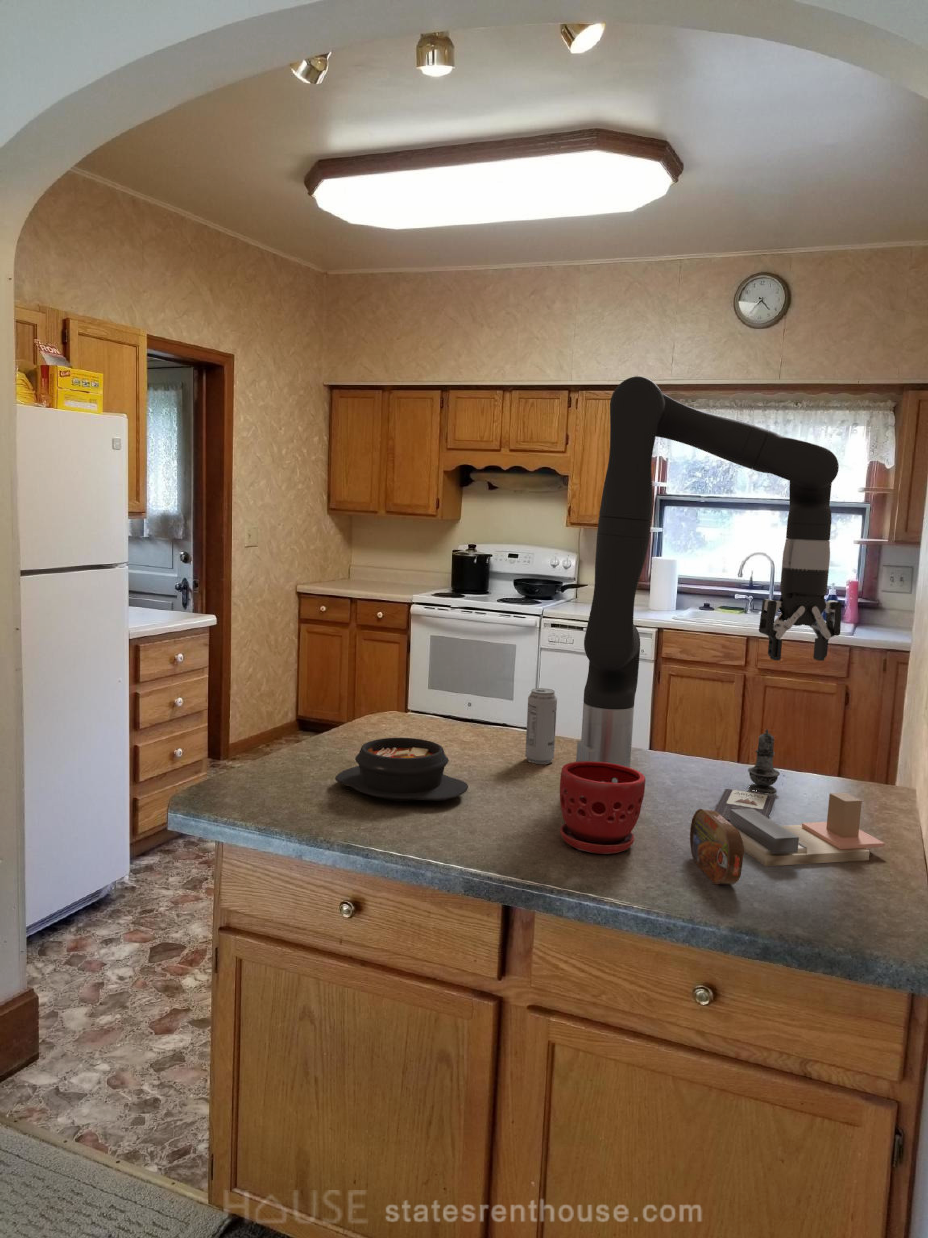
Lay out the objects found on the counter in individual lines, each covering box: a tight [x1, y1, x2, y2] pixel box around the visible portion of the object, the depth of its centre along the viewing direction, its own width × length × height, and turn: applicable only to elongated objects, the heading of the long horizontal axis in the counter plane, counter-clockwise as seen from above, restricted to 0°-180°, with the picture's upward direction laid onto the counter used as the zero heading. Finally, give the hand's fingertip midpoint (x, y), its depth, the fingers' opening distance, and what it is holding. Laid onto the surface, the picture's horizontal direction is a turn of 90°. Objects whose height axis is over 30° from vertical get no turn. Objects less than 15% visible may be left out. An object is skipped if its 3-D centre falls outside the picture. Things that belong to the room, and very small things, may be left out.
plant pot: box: [559, 761, 646, 855], centre depth 140 cm, size 13×13×12 cm
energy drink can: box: [524, 687, 558, 765], centre depth 185 cm, size 6×6×15 cm
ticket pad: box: [730, 809, 870, 867], centre depth 142 cm, size 18×13×4 cm
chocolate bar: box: [713, 788, 776, 822], centre depth 161 cm, size 9×1×18 cm
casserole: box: [335, 737, 469, 802], centre depth 162 cm, size 25×19×8 cm
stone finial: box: [747, 728, 781, 795], centre depth 172 cm, size 6×6×12 cm
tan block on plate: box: [801, 792, 886, 849], centre depth 143 cm, size 8×10×7 cm
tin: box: [689, 808, 745, 885], centre depth 131 cm, size 15×3×8 cm, turn 5°
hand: (797, 660), depth 154 cm, fingers open, 8 cm apart
